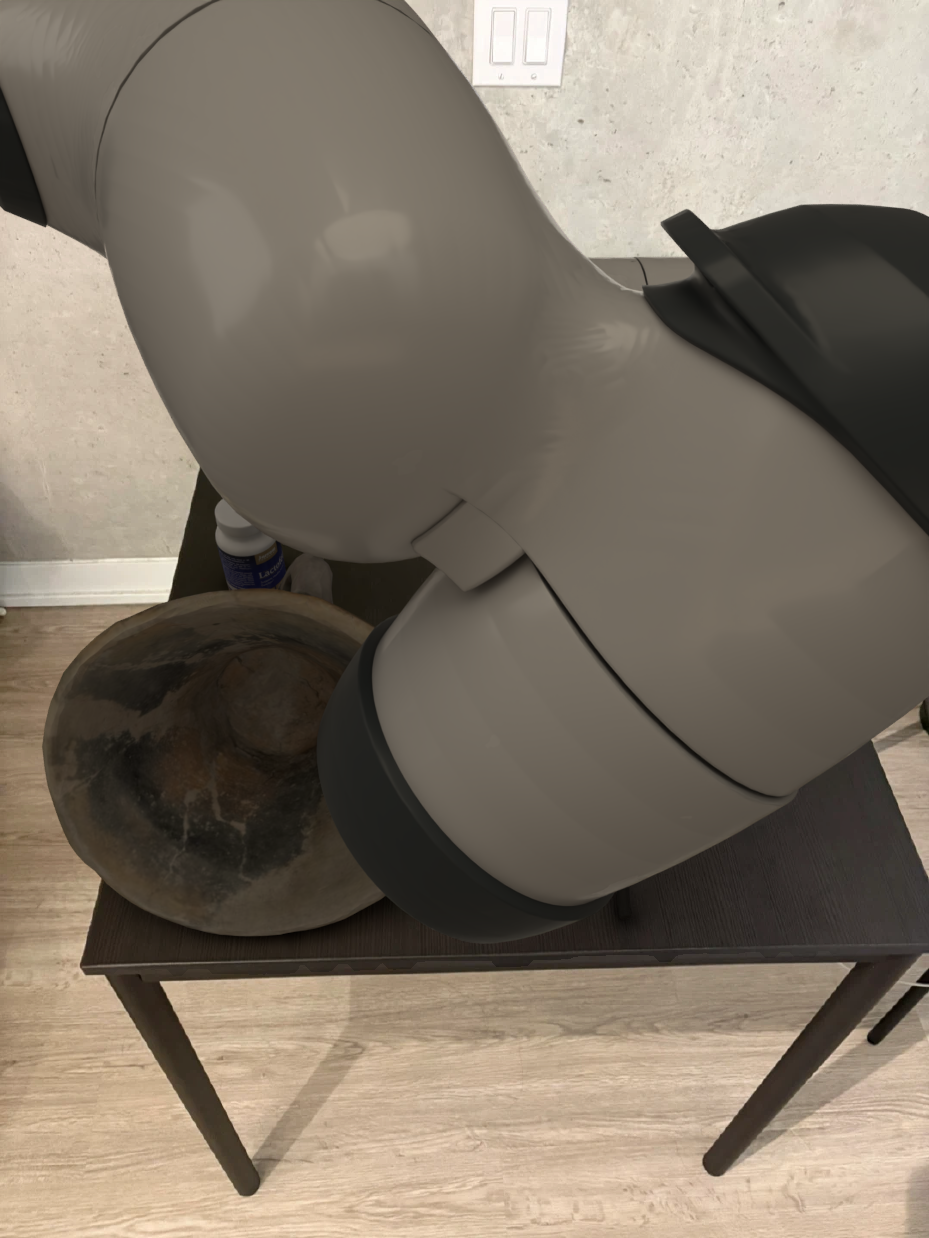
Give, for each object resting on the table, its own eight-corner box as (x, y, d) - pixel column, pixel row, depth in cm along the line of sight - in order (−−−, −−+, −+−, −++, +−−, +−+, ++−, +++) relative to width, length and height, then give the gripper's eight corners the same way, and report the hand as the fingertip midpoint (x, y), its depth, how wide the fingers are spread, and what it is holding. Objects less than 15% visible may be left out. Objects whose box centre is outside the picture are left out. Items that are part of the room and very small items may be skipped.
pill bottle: (276, 610, 82) (259, 536, 74) (219, 600, 82) (197, 526, 75) (296, 567, 85) (282, 492, 78) (241, 558, 86) (222, 482, 78)
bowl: (175, 858, 75) (126, 986, 61) (53, 579, 65) (-37, 655, 51) (473, 783, 75) (493, 894, 61) (395, 493, 65) (397, 546, 51)
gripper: (37, 28, 53) (104, 248, 63) (243, 124, 44) (280, 361, 54) (128, 8, 56) (177, 221, 66) (336, 94, 47) (355, 324, 57)
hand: (225, 285), depth 60 cm, fingers open, 8 cm apart
